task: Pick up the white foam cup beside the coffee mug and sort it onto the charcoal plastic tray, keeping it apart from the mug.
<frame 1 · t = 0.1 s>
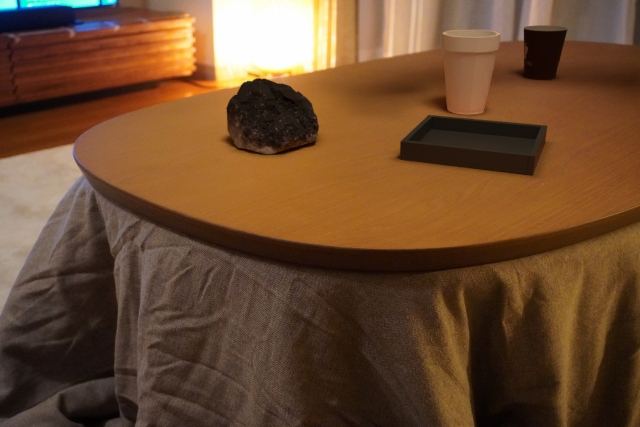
foam cup: (465, 110, 109), on the table
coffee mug: (540, 76, 133), on the table
crystal cluster: (274, 142, 94), on the table
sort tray: (474, 150, 88), on the table
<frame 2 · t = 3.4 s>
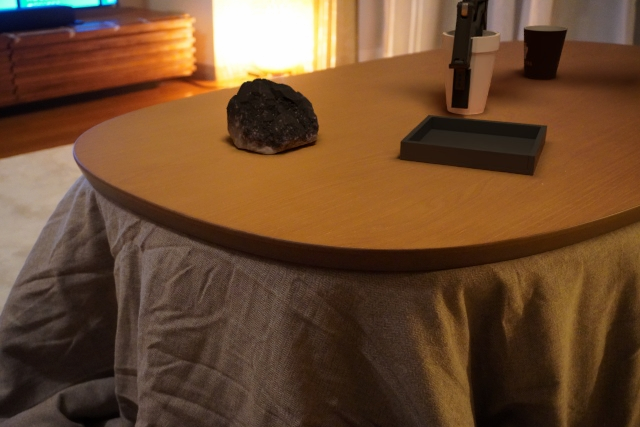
hand: (466, 100, 108), 2 cm above the table, tool pointing down, fingers closed on foam cup, 9 cm apart
foam cup: (465, 110, 109), on the table, touching gripper
everything else where it was.
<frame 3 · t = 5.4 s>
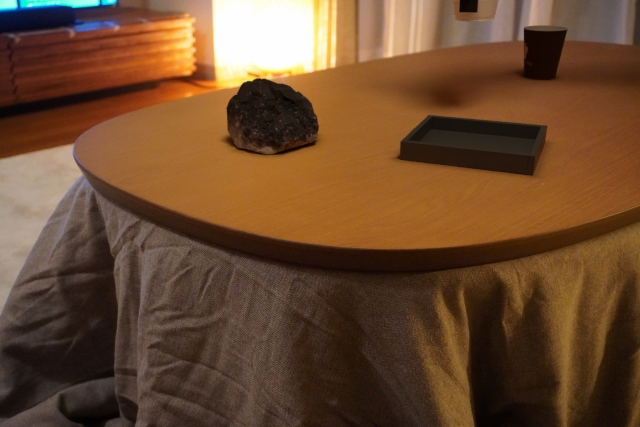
hand: (475, 8, 101), 17 cm above the table, tool pointing down, fingers closed on foam cup, 9 cm apart
foam cup: (474, 20, 102), point 15 cm above the table, touching gripper
everything else where it was.
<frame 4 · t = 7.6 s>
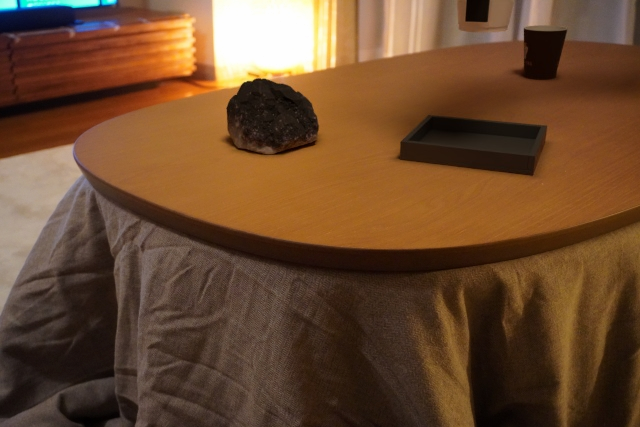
hand: (484, 16, 82), 18 cm above the table, tool pointing down, fingers closed on foam cup, 9 cm apart
foam cup: (482, 30, 83), point 16 cm above the table, touching gripper
everything else where it was.
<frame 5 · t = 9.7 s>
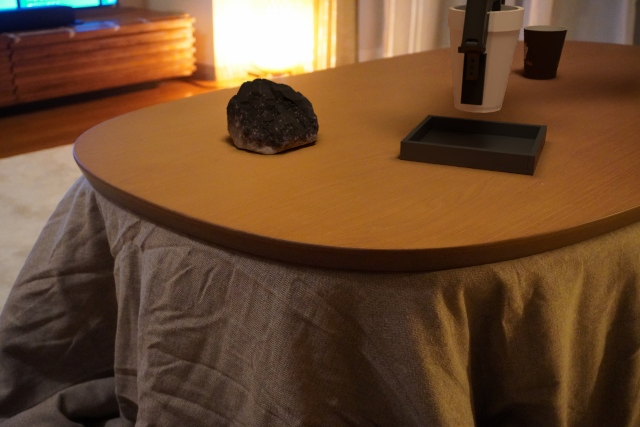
hand: (479, 95, 85), 8 cm above the table, tool pointing down, fingers closed on foam cup, 9 cm apart
foam cup: (477, 108, 86), point 6 cm above the table, touching gripper
everything else where it was.
when the fingers open (3 cm above the table, at t = 12.1 s): foam cup stays where it is, resting on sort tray.
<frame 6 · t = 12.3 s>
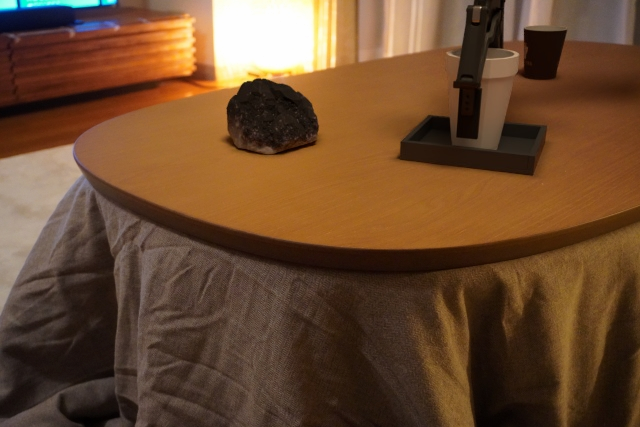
hand: (477, 124, 87), 4 cm above the table, tool pointing down, fingers open, 13 cm apart
foam cup: (474, 147, 88), resting on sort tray
everything else where it was.
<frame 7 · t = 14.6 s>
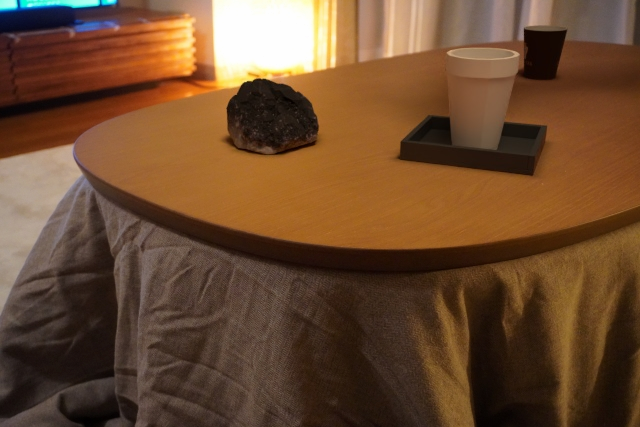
nothing on the table moved.
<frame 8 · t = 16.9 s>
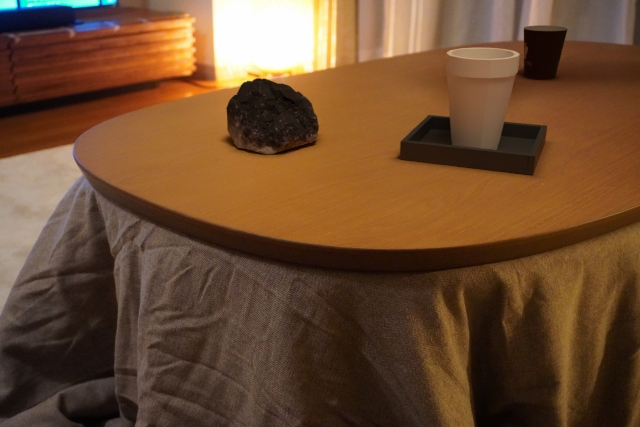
nothing on the table moved.
at the end: foam cup inside the target area in the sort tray (0.1 cm from its centre), point 0.4 cm above the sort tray's base; foam cup tilted 0°; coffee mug moved 0.2 cm from its start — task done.
